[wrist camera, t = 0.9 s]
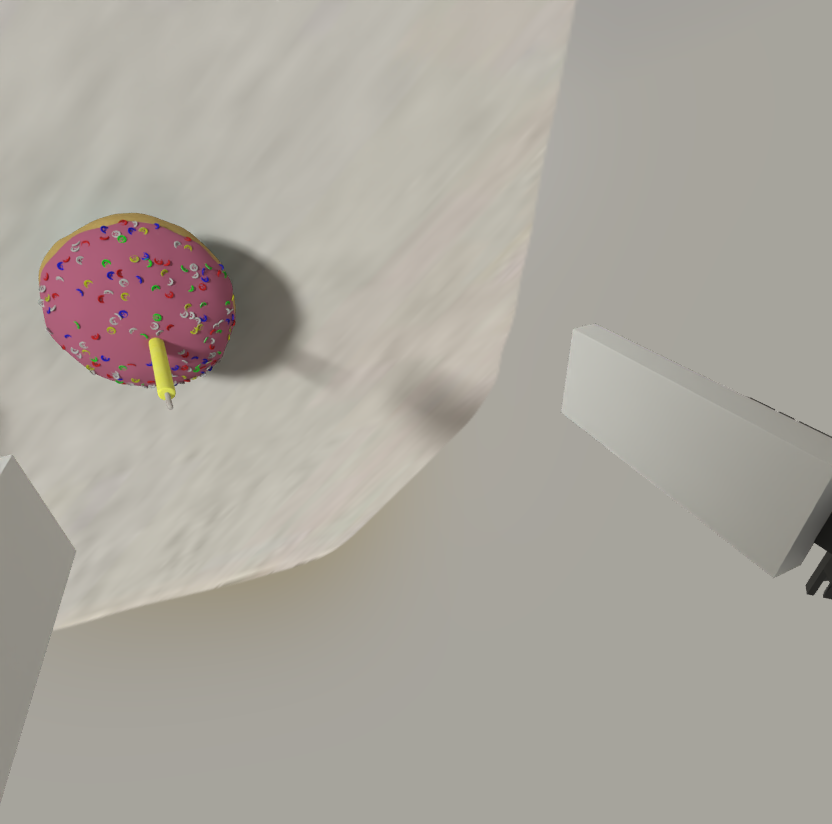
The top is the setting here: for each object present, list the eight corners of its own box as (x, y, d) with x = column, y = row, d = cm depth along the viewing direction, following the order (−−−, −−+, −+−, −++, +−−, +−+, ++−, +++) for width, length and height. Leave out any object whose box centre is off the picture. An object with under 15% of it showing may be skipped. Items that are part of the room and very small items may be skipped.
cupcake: (241, 334, 30) (287, 418, 21) (97, 372, 27) (79, 488, 18) (195, 192, 26) (229, 222, 16) (15, 219, 23) (-65, 274, 14)
